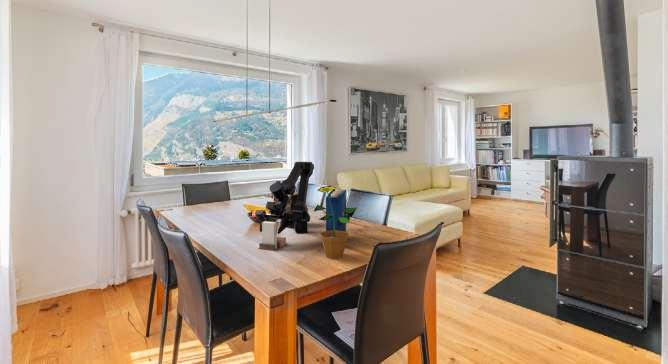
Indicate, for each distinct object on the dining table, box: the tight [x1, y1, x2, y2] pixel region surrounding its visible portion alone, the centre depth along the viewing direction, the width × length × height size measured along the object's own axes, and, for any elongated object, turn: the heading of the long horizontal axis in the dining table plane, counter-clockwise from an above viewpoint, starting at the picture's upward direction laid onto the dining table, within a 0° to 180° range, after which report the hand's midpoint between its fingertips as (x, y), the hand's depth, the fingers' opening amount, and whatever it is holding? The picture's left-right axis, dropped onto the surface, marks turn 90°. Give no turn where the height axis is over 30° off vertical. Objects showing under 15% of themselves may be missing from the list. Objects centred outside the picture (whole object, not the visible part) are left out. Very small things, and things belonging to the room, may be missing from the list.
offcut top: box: [277, 236, 287, 243], centre depth 164 cm, size 5×8×2 cm, turn 70°
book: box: [325, 188, 347, 232], centre depth 172 cm, size 22×7×25 cm, turn 168°
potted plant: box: [313, 185, 358, 260], centre depth 148 cm, size 18×19×30 cm
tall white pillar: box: [261, 221, 278, 249], centre depth 158 cm, size 2×6×12 cm, turn 70°
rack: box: [257, 242, 288, 252], centre depth 161 cm, size 12×9×3 cm
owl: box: [279, 191, 298, 230], centre depth 203 cm, size 13×13×20 cm
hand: (269, 232), depth 158 cm, fingers open, 9 cm apart
